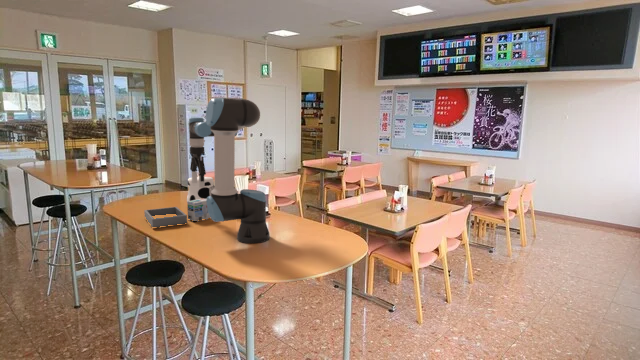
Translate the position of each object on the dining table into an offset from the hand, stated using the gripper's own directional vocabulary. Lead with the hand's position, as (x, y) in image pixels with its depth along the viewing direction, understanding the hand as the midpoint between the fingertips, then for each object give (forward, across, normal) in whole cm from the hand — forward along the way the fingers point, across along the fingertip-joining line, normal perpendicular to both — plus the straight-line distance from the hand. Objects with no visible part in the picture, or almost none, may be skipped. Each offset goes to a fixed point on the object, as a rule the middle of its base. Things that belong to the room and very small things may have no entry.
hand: (198, 185), depth 212 cm
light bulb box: (+20, 0, 0) cm, 20 cm away
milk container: (+20, +29, -10) cm, 36 cm away
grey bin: (+19, +4, +17) cm, 26 cm away
